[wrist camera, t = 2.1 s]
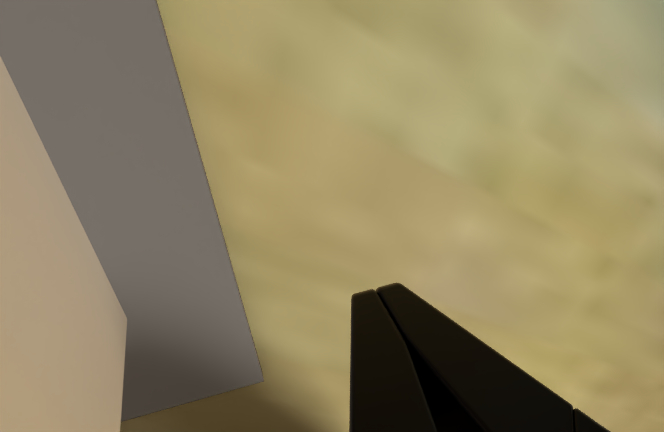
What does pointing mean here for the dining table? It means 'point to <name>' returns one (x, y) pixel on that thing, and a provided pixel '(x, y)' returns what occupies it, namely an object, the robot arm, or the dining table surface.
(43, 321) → the tile
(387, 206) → the dining table surface
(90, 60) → the mat
